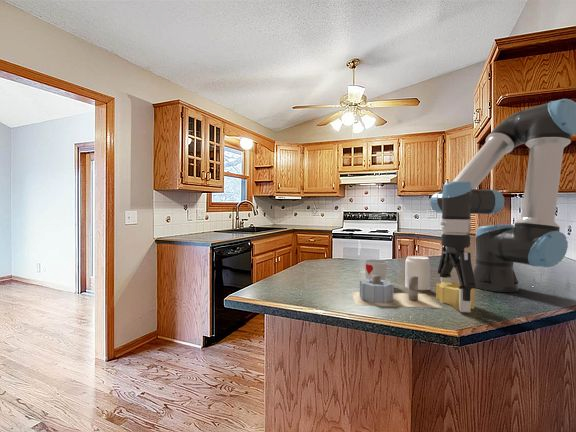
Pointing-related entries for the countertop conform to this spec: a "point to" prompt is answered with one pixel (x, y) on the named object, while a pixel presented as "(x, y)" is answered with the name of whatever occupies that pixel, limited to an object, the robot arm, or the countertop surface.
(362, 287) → the gear
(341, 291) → the countertop surface
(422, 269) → the beverage can
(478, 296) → the countertop surface
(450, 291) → the gear
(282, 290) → the countertop surface
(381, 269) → the cup
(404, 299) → the gear board
